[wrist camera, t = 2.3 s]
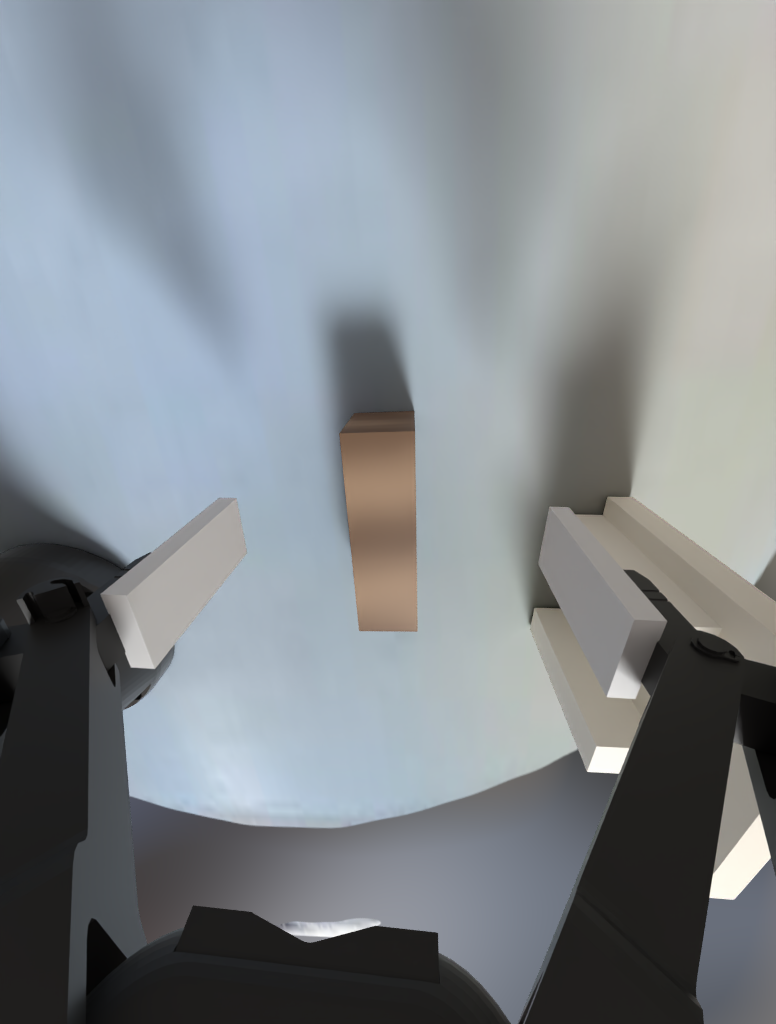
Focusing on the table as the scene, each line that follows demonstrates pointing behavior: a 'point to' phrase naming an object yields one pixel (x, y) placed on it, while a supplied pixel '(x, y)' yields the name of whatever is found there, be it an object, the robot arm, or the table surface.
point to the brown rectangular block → (382, 517)
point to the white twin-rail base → (614, 721)
